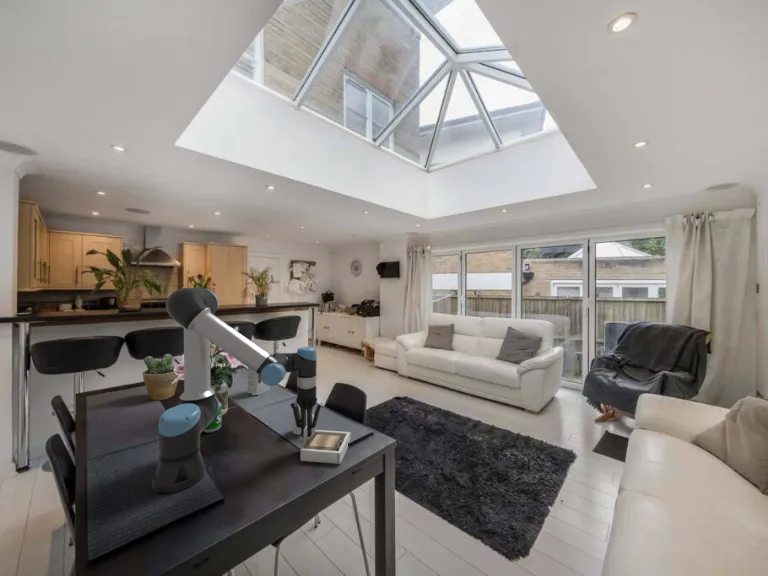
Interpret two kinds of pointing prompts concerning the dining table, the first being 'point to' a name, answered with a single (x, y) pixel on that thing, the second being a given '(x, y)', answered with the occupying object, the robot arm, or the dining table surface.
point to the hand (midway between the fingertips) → (306, 444)
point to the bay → (327, 455)
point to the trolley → (322, 442)
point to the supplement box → (256, 383)
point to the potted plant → (160, 377)
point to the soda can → (214, 422)
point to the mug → (294, 427)
